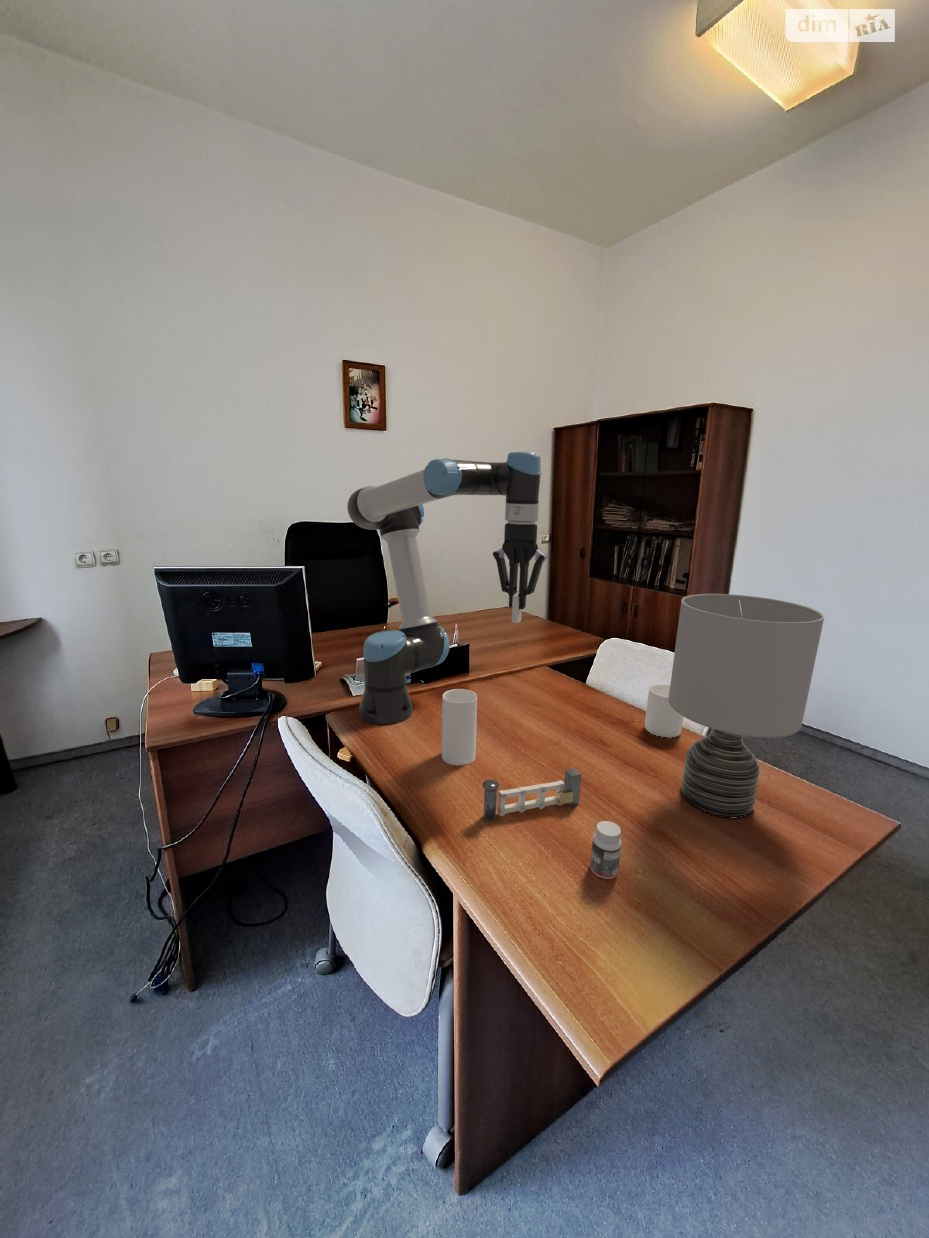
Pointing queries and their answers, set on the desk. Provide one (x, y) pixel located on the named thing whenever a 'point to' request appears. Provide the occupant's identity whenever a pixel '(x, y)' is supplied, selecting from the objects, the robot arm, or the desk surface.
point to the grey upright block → (570, 788)
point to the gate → (532, 803)
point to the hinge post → (490, 799)
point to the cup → (459, 726)
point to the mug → (662, 713)
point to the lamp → (739, 688)
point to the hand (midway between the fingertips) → (516, 621)
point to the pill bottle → (606, 850)
